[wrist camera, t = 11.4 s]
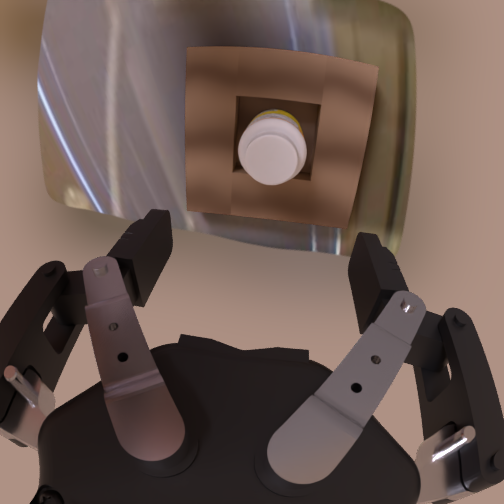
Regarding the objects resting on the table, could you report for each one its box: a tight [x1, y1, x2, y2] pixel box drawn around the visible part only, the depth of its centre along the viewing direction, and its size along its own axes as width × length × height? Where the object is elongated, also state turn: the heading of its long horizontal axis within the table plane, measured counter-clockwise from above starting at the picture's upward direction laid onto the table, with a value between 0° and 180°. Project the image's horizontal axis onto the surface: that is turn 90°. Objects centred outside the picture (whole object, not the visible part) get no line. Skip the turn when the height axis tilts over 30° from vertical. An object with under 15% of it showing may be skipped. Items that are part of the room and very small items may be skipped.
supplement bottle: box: [238, 109, 307, 185], centre depth 25 cm, size 6×6×10 cm
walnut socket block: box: [185, 46, 379, 229], centre depth 28 cm, size 18×18×3 cm
